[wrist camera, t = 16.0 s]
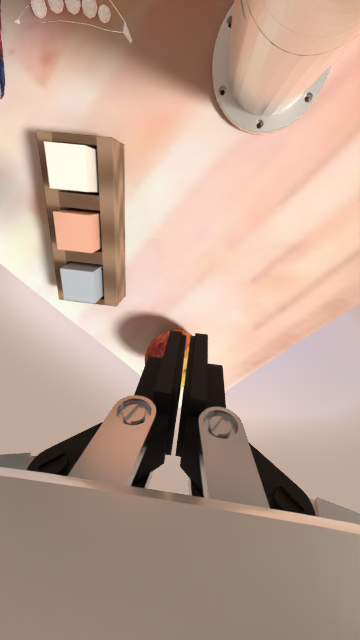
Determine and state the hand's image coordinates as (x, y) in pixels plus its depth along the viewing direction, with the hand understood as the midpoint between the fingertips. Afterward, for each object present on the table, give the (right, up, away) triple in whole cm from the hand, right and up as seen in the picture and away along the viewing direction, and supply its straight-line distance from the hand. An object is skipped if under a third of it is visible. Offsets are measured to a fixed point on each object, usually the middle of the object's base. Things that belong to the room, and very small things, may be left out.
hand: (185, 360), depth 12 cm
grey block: (-14, +9, +28) cm, 32 cm away
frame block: (-13, +16, +26) cm, 33 cm away
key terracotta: (-13, +15, +25) cm, 31 cm away
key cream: (-12, +21, +21) cm, 32 cm away
